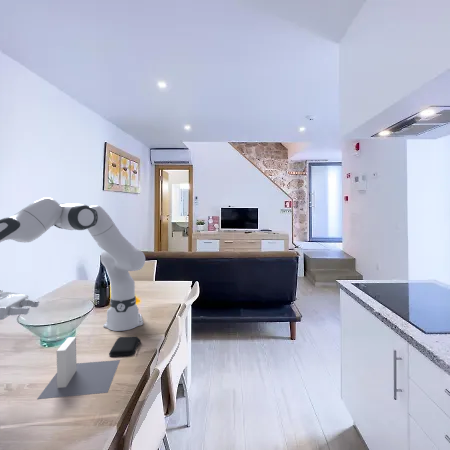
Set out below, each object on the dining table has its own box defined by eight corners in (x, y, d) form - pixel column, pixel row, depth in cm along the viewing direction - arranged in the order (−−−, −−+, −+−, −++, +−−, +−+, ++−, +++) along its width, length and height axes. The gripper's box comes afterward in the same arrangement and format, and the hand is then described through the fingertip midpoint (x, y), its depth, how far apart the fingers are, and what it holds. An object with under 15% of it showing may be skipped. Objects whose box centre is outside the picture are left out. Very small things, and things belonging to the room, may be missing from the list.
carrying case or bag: (136, 358, 113) (142, 341, 128) (136, 350, 113) (142, 334, 127) (107, 359, 112) (117, 342, 126) (107, 352, 112) (117, 335, 126)
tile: (68, 370, 102) (67, 337, 102) (76, 370, 103) (75, 336, 102) (56, 387, 92) (55, 350, 92) (65, 387, 93) (65, 350, 92)
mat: (63, 366, 106) (62, 364, 106) (120, 361, 110) (120, 360, 110) (37, 401, 87) (37, 399, 87) (107, 394, 90) (107, 392, 90)
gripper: (-34, 301, 80) (23, 304, 84) (-1, 288, 100) (45, 292, 104) (-39, 324, 80) (19, 327, 84) (-4, 307, 99) (41, 310, 103)
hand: (33, 307), depth 94 cm, fingers open, 8 cm apart
